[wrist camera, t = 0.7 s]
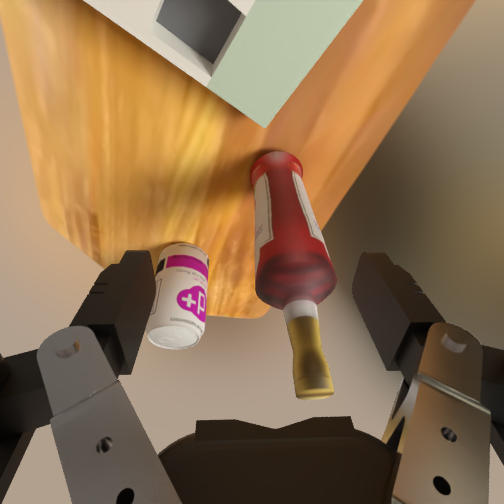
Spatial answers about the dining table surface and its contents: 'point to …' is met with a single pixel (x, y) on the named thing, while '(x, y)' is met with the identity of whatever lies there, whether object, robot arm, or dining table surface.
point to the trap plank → (237, 42)
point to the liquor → (292, 265)
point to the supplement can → (179, 297)
